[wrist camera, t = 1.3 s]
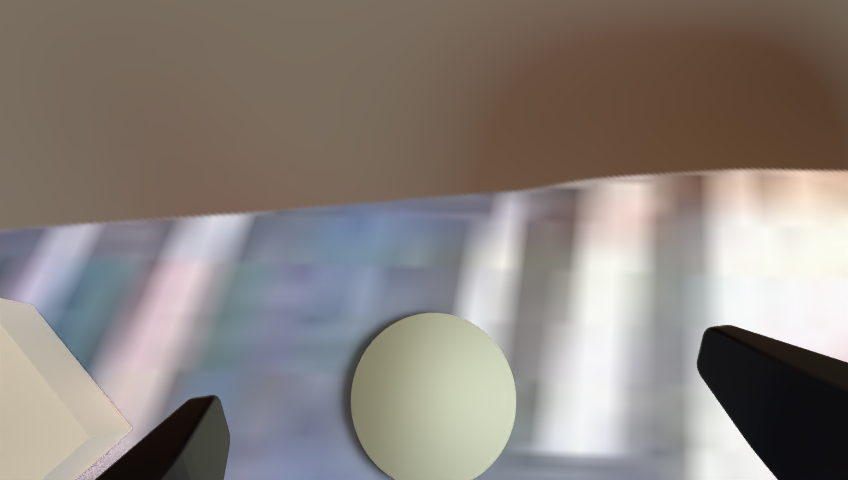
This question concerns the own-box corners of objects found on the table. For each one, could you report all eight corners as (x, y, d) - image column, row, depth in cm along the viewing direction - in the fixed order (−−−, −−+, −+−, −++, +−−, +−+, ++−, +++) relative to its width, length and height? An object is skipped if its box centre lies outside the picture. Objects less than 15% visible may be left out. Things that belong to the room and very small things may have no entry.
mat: (474, 520, 20) (476, 523, 19) (320, 437, 20) (318, 438, 20) (537, 357, 22) (539, 357, 22) (398, 287, 23) (398, 286, 22)
